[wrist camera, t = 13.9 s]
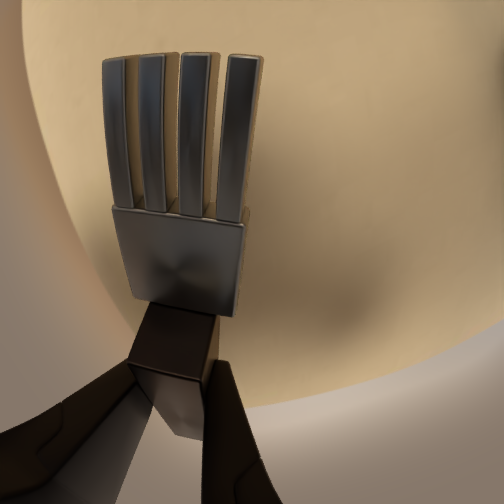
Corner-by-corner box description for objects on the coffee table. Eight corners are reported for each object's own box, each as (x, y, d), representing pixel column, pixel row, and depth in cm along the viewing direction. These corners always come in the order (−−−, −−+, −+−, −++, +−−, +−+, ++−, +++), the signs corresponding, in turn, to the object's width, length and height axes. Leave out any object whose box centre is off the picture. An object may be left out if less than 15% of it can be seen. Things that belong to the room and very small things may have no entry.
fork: (225, 401, 12) (218, 444, 10) (176, 391, 12) (165, 432, 10) (272, 57, 3) (258, 58, 1) (116, 57, 3) (9, 86, 1)
